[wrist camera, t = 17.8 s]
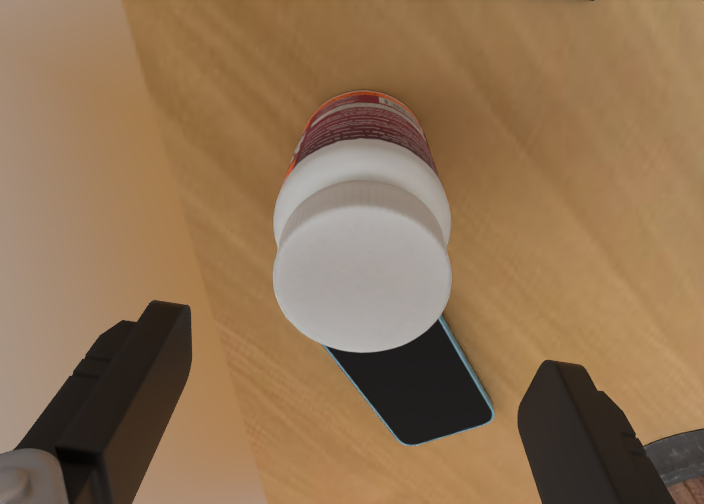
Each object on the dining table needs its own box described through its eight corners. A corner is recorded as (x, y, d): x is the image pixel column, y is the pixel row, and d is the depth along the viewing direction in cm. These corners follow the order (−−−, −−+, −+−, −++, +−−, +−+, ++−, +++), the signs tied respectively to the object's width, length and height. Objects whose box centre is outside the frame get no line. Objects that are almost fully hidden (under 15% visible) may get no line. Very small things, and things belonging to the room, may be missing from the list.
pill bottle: (283, 107, 22) (214, 217, 12) (412, 70, 21) (451, 159, 11) (322, 220, 25) (293, 380, 15) (436, 193, 24) (483, 347, 14)
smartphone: (403, 449, 33) (292, 308, 26) (402, 436, 34) (294, 296, 27) (500, 420, 31) (407, 259, 24) (496, 407, 32) (406, 248, 25)
